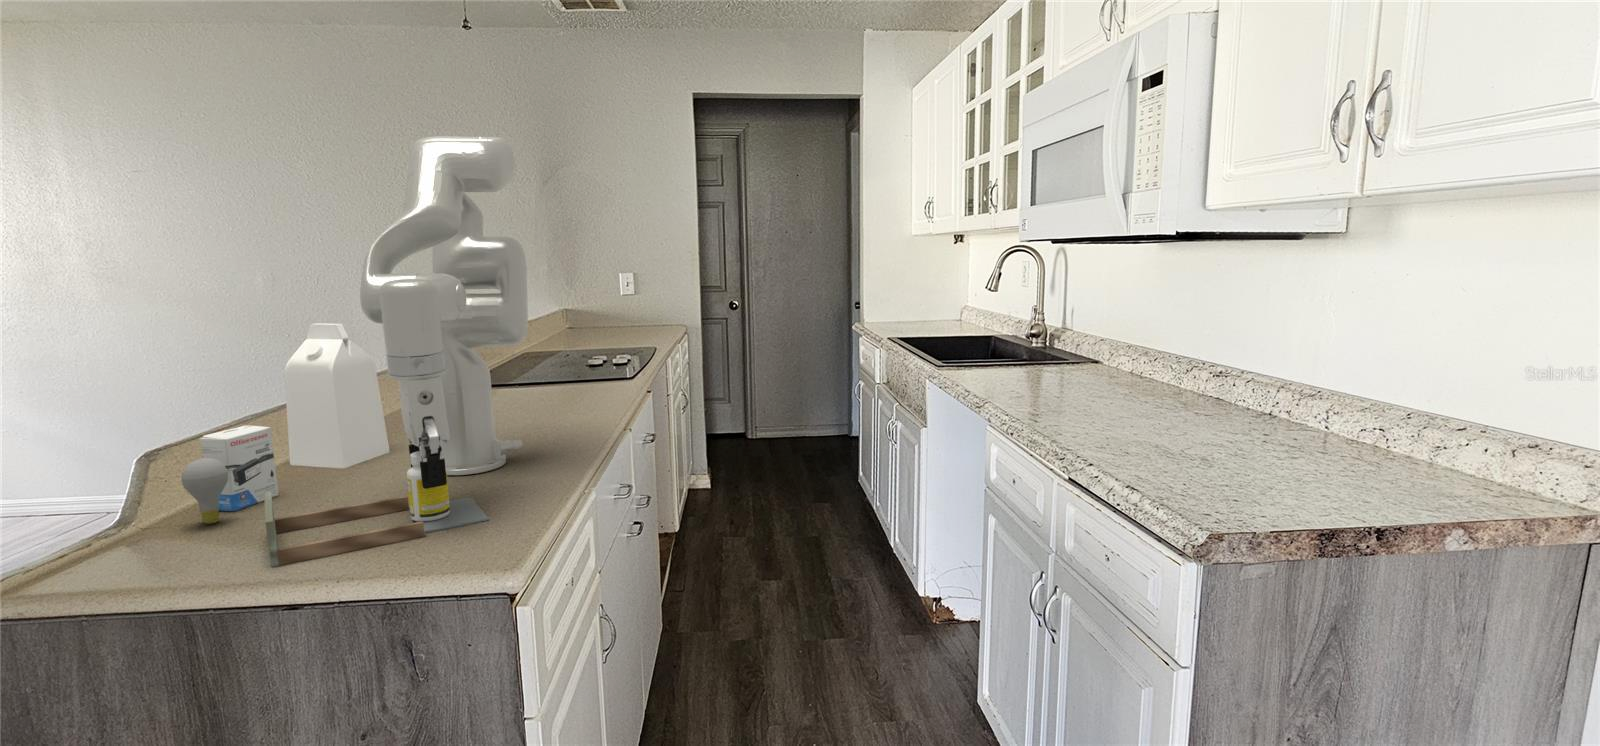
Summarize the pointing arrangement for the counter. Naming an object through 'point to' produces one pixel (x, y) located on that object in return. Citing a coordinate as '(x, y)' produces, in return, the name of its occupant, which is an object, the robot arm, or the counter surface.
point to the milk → (333, 402)
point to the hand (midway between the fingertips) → (428, 476)
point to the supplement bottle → (425, 495)
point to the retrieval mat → (457, 516)
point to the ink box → (243, 464)
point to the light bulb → (206, 485)
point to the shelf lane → (339, 543)
